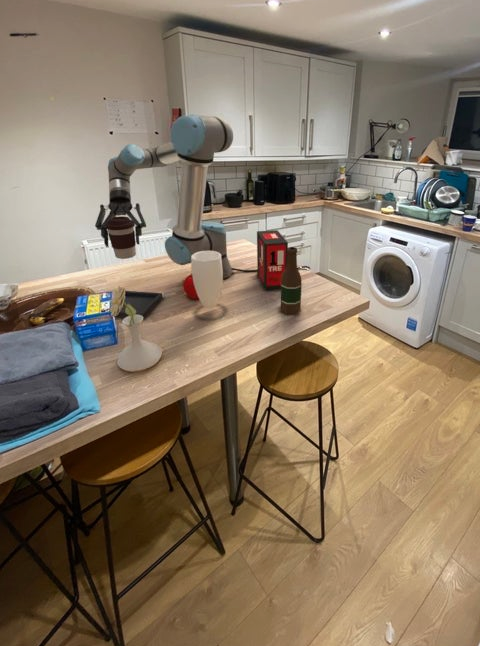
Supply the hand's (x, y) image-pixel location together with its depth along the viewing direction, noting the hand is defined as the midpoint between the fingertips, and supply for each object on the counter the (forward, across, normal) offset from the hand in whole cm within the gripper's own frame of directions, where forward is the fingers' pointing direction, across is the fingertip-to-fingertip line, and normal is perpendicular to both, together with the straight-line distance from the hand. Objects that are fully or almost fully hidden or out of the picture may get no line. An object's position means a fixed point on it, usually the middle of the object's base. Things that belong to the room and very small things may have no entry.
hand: (122, 244), depth 126 cm
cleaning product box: (+19, -56, -7) cm, 59 cm away
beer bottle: (+37, -56, +10) cm, 68 cm away
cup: (+33, -28, +6) cm, 44 cm away
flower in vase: (+49, -7, +22) cm, 54 cm away
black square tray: (+25, -2, -1) cm, 25 cm away
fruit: (+23, -24, -3) cm, 34 cm away
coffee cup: (+2, 0, -6) cm, 7 cm away
